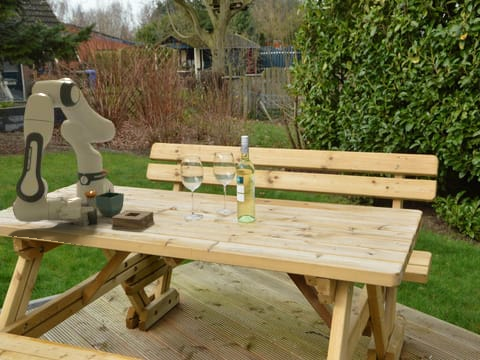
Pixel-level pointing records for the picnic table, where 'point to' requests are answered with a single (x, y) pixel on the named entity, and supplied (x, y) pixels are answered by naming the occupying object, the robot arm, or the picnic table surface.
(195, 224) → the picnic table surface
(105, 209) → the flower pot
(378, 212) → the picnic table surface
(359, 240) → the picnic table surface
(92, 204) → the pin
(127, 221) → the block
